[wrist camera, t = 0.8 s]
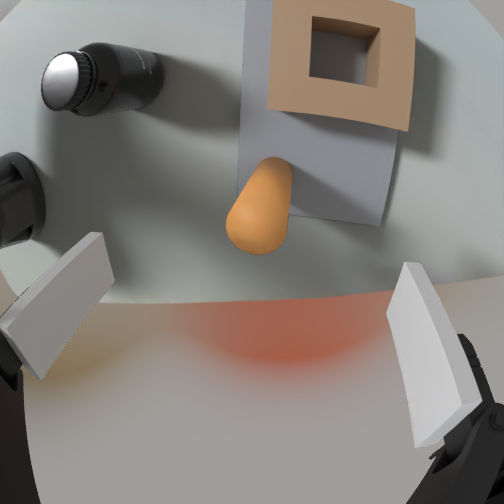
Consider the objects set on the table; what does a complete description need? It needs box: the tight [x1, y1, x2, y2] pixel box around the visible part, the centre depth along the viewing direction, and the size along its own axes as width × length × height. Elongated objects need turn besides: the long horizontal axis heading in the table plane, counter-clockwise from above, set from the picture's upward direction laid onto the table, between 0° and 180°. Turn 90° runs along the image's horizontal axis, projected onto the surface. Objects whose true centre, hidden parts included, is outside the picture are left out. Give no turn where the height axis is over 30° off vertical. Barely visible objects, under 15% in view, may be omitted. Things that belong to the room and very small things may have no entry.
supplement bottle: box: [41, 43, 164, 117], centre depth 19 cm, size 7×7×12 cm
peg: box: [226, 157, 293, 255], centre depth 22 cm, size 4×4×12 cm
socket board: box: [237, 0, 415, 227], centre depth 21 cm, size 15×22×6 cm
